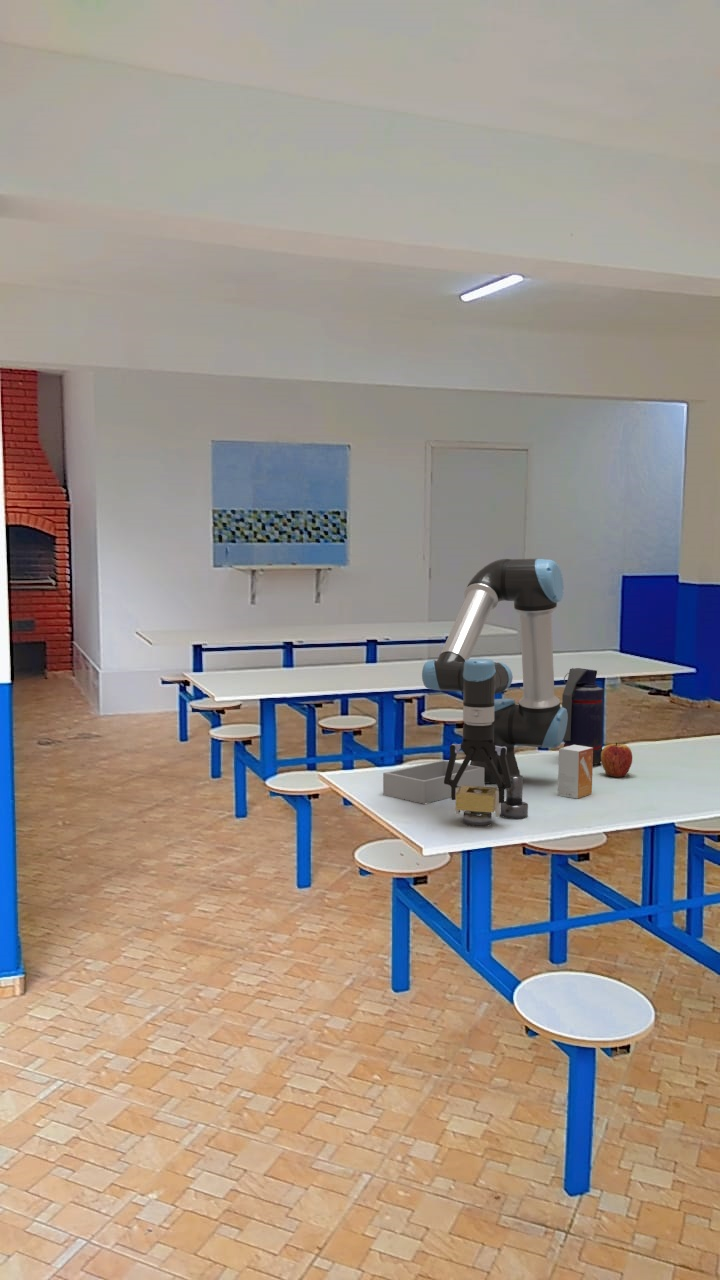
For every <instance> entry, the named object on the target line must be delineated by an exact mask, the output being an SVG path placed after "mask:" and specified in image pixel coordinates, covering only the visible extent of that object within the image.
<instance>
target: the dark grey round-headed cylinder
mask: <svg viewBox="0 0 720 1280" xmlns="http://www.w3.org/2000/svg"><path fill="white" fill-rule="evenodd" d="M523 778H524V777H523V775H521V774H520V775H511V780H512V786H511V787H510V788H507V789H505V800H504V802H503V803H500V815H499V817H501V818H504V819H508V820H510V819H511V820H523V819H526V818H528V817H529V804H528V802H525V801H523V788H524V787H523V785H524V783H523Z"/></svg>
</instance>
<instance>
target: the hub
mask: <svg viewBox="0 0 720 1280" xmlns="http://www.w3.org/2000/svg"><path fill="white" fill-rule="evenodd" d="M474 793H481V790H474ZM492 814H493V813H492V812H478V811H464V810H463V815H462V817H463V822H462V823H463V824H464V825H466V826H469V825H470V827H476V826H482V827H489V826H491V825H492V817H493V816H492ZM488 825H489V826H488Z"/></svg>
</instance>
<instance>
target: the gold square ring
mask: <svg viewBox="0 0 720 1280" xmlns="http://www.w3.org/2000/svg"><path fill="white" fill-rule="evenodd" d="M497 788H498V787H494V786H484V787H480V786H465V785H463V786H462V787H461V788H460V789H459V791H458V792H457V793H456V810H460V811H463V812H464V811H478V812H491V813H492V814H493V813H495V797H496V793H495V792H496V789H497ZM474 790H481V793H474Z"/></svg>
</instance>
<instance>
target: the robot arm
mask: <svg viewBox="0 0 720 1280" xmlns="http://www.w3.org/2000/svg"><path fill="white" fill-rule="evenodd" d="M563 579H564V578H563V574H562V571H561V568H560V566H559V565H558V563H557V562H556V561H554V560H552V559H542V558H511V559H510V558H502V559H501V558H500V559H496V560H494V561H492V562H489V563H488V564H487V565H485V566H484V567H483V568H481V569H480V570H479V571H478V572H476V574H475V575H474V576H473V577H472V578H471V580H470V581H469V583H468V584H467V585H466V588H465V590H464V602H463V603H462V606H461V608H460V610H459V612H458V615H457V616H456V618H455V619H456V620H455V621H454V623H453V626H452V627H451V629H450V632H449V634H448V637H447V639H446V641H445V642H444V644H443V645H444V646H443V647H442V650H441V652H440V654H439V655H438V658H437V660H436V659H433V660H427V661H426V662H424V664H423V667H422V670H421V671H422V672H421V679H422V682H423V685H424V687H425V688H427V689H428V690H432V691H441V692H442V691H445V692H462V693H463V696H462V697H463V700H462V701H463V702H462V705H463V707H462V709H463V710H462V721H463V722H464V723H463V725H462V742H461V743H459V744H458V743H452V744H451V745H450V746H449V758H448V759H449V760H448V761H449V762H448V766H447V770H446V775H445V779H444V784H447V785H450V786H451V800H452V801H454V802H455V810H454V811H455V812H454V813H455V815H460V813H461V810H456V793H457V792H458V791H459V789H460V788H461V786H457V784H458V782H459V780H460V778H461V776H462V775H463V773H464V771H465V769H466V767H467V765H472V766H478V767H483V768H484V784H496V786H497V787H496V788H497V789H496V792H495V793H496V797H495V811H494V816H495V818H499V817H500V803H503V802H504V801H505V798H506V789H507V788H510V787H511V786H512V780H511V775H521V771H520V769H519V765H518V761H517V759H516V754H515V746H520V747H521V746H524V747H531V748H532V747H533V748H541V749H548V748H550V749H555V748H558V747H560V745H561V744H562V742H564V740H563V738H564V735H565V732H566V727H567V720H568V713H567V710H566V709H565V708H563V707H562V706H561V699H560V698H559V697H558V696H556V695H555V680H554V679H555V677H554V676H555V675H554V674H555V673H554V672H555V671H554V650H553V649H554V647H553V620H552V617H553V616H552V613H553V611H555V610H556V608H557V607H558V603H559V602H561V601H562V599H563V596H564V591H563V590H564V580H563ZM503 601H504V602H505V601H506V602H513V603H514V604H513V608H514V610H515V611H516V612H517V613H518V614H519V616H520V617H519V618H520V619H519V621H520V637H521V638H520V639H521V640H520V642H521V664H522V667H521V668H522V685H523V687H522V688H523V696H522V697H521V698H520V699H519V700H518V704H516V700H515V699H514V698H495V695H496V694H500V693H504V691H506V690H507V689H508V688H510V687H511V685H512V682H513V672H512V670H511V668H510V667H509V666H508V665H507V664H505V663H503V662H500V661H499V662H497V661H496V662H495V661H494V660H492V658H491V659H490V658H471V656H472V653H473V652H474V649H475V647H476V645H477V642H478V639H479V637H480V635H481V633H482V630H483V629H484V626H485V624H486V622H487V620H488V618H489V615H490V612H491V611H492V610H494V609H495V608H496V607H497V606H498V603H500V602H503ZM460 750H462V752H463V754H464V755H465V757H464V758H463V761H462V765H461V767H460V768H459V770H458V772H457V774H456V776H455V778H454V780H452V779H451V776H452V772H453V768H454V764H455V762H456V759H457V754H459V752H460Z"/></svg>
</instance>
